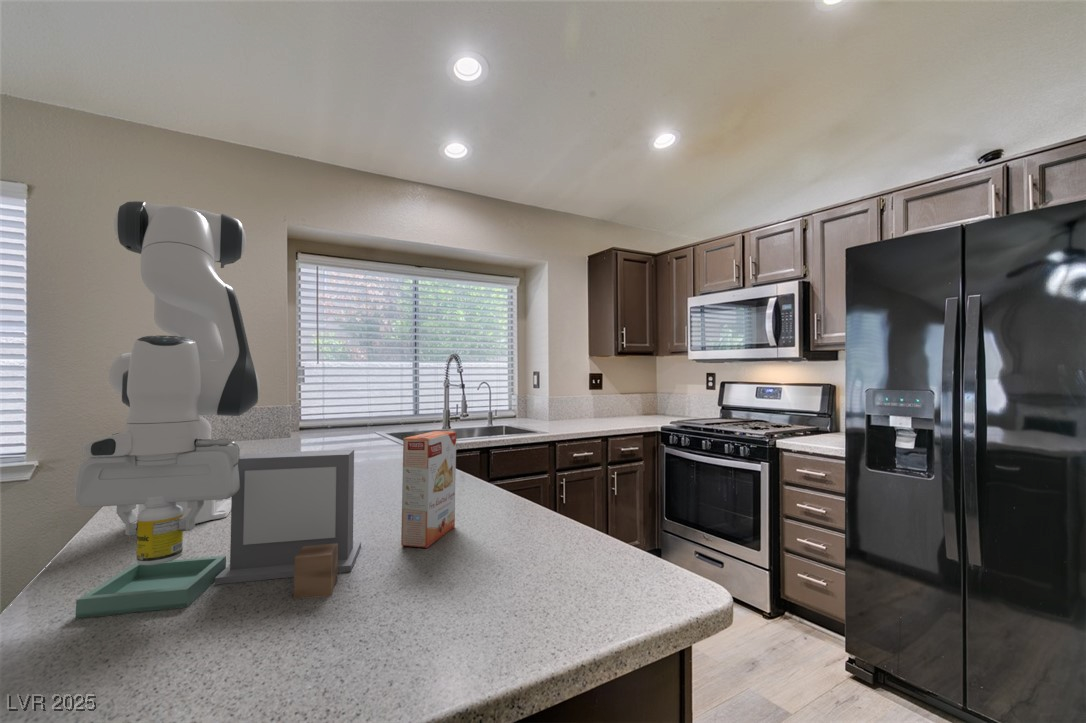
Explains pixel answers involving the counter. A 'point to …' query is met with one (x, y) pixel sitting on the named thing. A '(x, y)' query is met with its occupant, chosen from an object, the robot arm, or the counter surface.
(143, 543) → the supplement bottle
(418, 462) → the cracker box
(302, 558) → the walnut block
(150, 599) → the tray
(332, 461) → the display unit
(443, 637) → the counter surface
